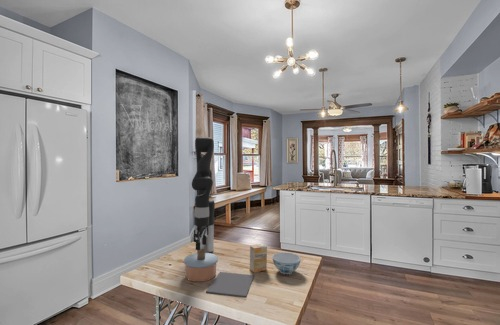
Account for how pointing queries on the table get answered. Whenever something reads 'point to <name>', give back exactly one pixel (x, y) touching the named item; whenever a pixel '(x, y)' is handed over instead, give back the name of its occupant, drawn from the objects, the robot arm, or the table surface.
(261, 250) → the supplement box
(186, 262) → the lid
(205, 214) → the robot arm
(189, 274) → the bowl
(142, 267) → the table surface
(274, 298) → the table surface
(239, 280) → the mat
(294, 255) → the chinaware
